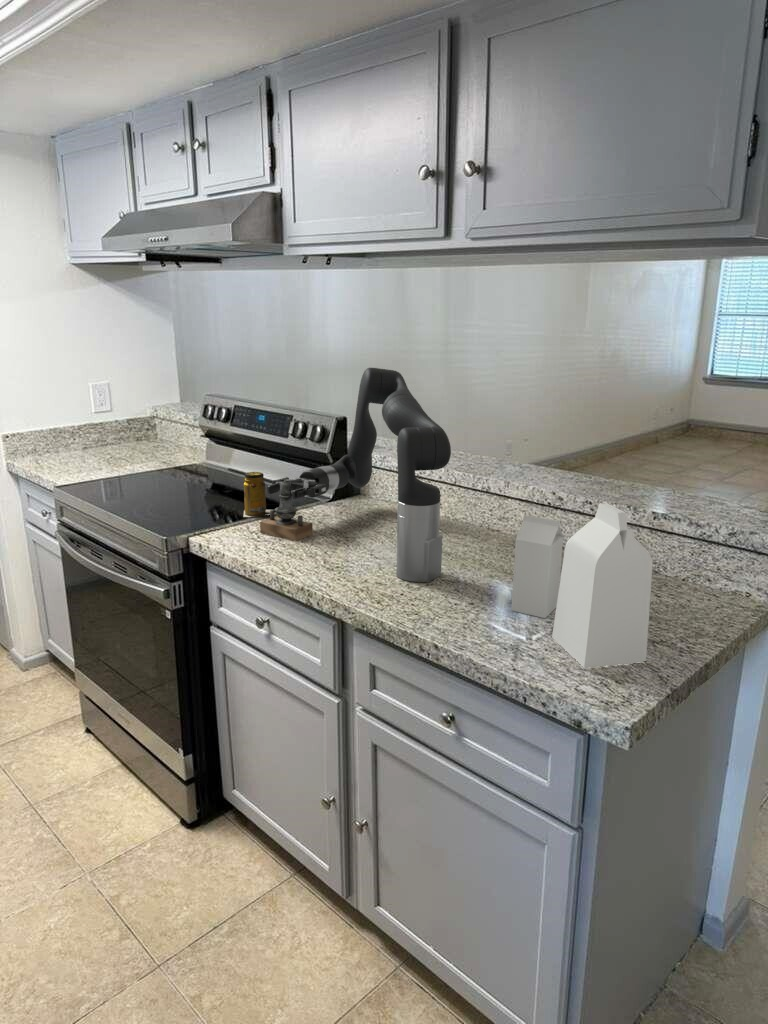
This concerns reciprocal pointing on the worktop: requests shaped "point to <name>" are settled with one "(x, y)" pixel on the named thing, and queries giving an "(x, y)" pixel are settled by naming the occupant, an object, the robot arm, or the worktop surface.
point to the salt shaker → (285, 505)
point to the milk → (604, 593)
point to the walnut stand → (286, 528)
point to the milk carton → (537, 566)
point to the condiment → (254, 495)
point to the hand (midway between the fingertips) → (280, 492)
